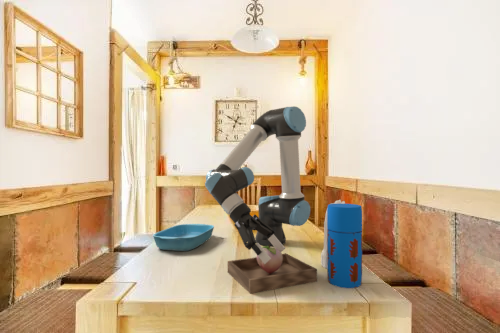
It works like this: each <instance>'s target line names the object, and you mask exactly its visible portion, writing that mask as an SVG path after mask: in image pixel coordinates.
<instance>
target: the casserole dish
mask: <svg viewBox="0 0 500 333" xmlns="http://www.w3.org/2000/svg"><path fill="white" fill-rule="evenodd" d="M214 228H215V226H214V225H213V224H205V223H183V224H177V225H176V224H175V225H173V226H171V227H168V228H165V229H162V230H161V231H160V230H159V231H158V232H155V233H153V234H152V237H153V239H154V243H155V245H156V247H157V248H158V249H160V250H163V251H174V252H180V251H181V252H189V251H192V250H193V249H196V248H197V247H200V246H201V245H203V244H204V243H206V242H207V241H208V240H209V239H211V236H212V234H213V232H214Z"/></svg>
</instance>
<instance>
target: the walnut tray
mask: <svg viewBox="0 0 500 333" xmlns="http://www.w3.org/2000/svg"><path fill="white" fill-rule="evenodd" d="M282 256H283V261H282V264H281V266H280V268H279V269H278V270H277V271H275V272H273V273H271V274H270V273H268V272H266V271H264V270H263V269H262V268H261V267H260V265H259V264H258V262H257V256H255V257H248V258H239V259H233V260H227V273H228V275H230V277H232V278H233V279H234V280H235V281H236V282H237V283H238V284H239V285H240V286H242V287H243V288H244V289H245V290H246V291H247V292H248V293H249V294H254V293H255V294H256V293H261V292H267V291H273V290H276V289H278V290H279V289H281V288H282V289H283V288H287V287H293V286H299V285H303V284H304V285H305V284H310V283H315V282H318V269H317V268H316V267H313V266H311V265H310V264H308V263H305V261H302V260H300V259H298V258H296V257H294V256H293V255H290V254H288V253H282Z"/></svg>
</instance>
